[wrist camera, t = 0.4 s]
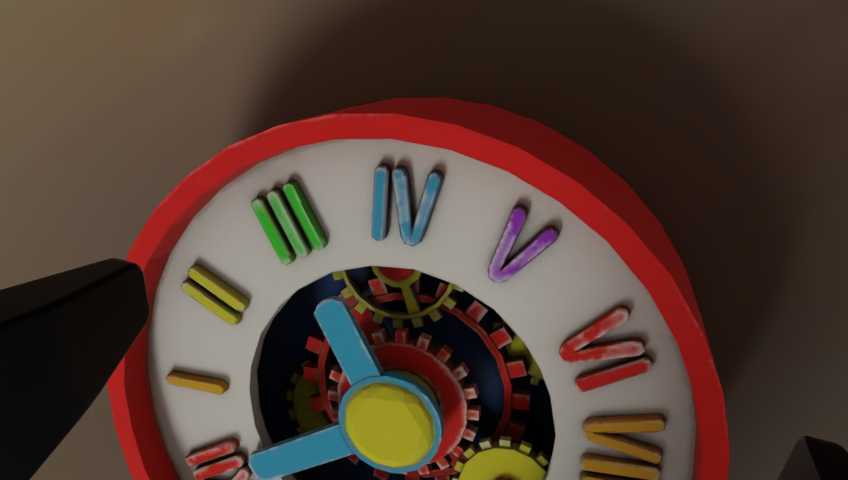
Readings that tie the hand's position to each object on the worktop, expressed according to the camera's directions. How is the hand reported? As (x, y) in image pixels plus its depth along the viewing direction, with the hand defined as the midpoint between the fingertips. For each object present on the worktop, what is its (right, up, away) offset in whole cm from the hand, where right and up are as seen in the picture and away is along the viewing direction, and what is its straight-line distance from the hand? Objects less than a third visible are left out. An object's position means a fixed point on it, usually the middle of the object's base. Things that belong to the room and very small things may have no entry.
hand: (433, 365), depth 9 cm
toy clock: (0, -3, +18) cm, 18 cm away
